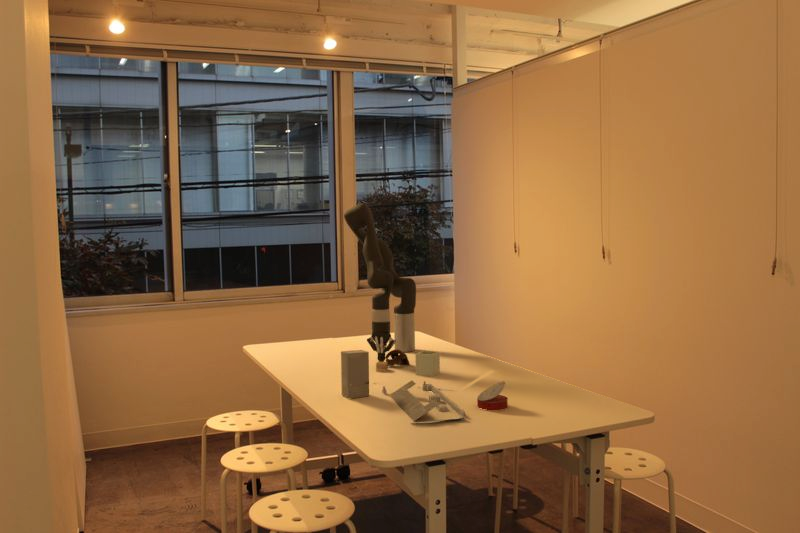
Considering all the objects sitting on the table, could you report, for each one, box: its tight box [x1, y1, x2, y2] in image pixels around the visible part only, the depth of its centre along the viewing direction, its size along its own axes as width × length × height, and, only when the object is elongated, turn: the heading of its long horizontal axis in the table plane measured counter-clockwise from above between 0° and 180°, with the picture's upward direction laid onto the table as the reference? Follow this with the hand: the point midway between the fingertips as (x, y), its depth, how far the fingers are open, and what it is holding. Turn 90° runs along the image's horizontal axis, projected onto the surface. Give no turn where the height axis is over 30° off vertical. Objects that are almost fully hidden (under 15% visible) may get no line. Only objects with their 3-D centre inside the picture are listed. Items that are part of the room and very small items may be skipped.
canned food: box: [476, 381, 509, 411], centre depth 255 cm, size 11×10×10 cm
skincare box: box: [340, 349, 370, 399], centre depth 273 cm, size 8×7×16 cm
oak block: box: [375, 361, 389, 373], centre depth 310 cm, size 4×4×4 cm
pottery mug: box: [385, 348, 410, 367], centre depth 321 cm, size 12×10×8 cm
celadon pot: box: [414, 350, 441, 377], centre depth 302 cm, size 7×7×9 cm
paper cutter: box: [381, 379, 468, 424], centre depth 257 cm, size 18×45×6 cm, turn 13°
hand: (381, 361), depth 322 cm, fingers closed
